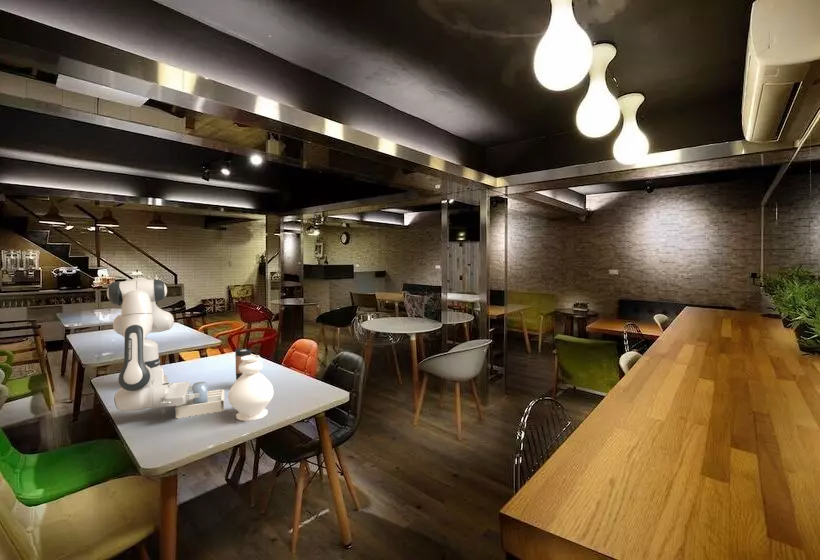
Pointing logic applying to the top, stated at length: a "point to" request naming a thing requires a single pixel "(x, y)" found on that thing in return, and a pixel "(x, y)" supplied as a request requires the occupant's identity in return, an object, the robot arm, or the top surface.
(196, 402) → the grey cylinder
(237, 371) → the travel mug
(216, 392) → the compartment tray
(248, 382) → the decorative vase
